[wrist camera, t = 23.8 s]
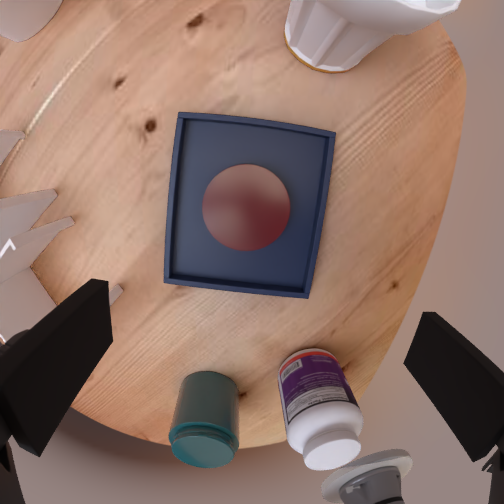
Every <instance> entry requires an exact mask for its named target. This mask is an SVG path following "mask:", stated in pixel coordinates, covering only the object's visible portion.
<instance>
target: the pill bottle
mask: <svg viewBox="0 0 504 504" xmlns="http://www.w3.org/2000/svg"><path fill="white" fill-rule="evenodd" d="M278 386H279V391H280V397H281V403H282V409H283V415H284V421H285V428H286V434H287V440H288V442H289V444H290V446H291V447H292V448H293V449H294V450H296V451H297V452H299V453H302V454H303V458H304V462H305V465H306V466H307V467H309V468H311V469H315V470H328V469H334V468H337V467H340V466H342V465H345V464H346V463H348V462H350V461H351V460H353V459H354V458H355V457H356V456H357V455H358V454H359V452H360V450H361V444H360V442H359V439H358V435H359V434H360V432H361V430H362V427H363V415H362V413H361V411H360V408H359V406H358V404H357V402H356V399H355V397H354V395H353V393H352V391H351V389H350V386H349V384H348V382H347V380H346V378H345V375H344V373H343V371H342V369H341V367H340V365H339V363H338V361H337V359H336V358H335V357H334V355H332V354H331V353H330V352H328V351H326V350H323V349H317V348H312V349H305V350H301V351H299V352H296V353H294V354H293V355H291V356H290V357H288V358H287V359H286V360H285V361H284V362H283V364H282V365H281V367H280V369H279V372H278Z"/></svg>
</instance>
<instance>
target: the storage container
mask: <svg viewBox="0 0 504 504" xmlns="http://www.w3.org/2000/svg"><path fill="white" fill-rule="evenodd" d="M25 138H26V136H25V134H24V132H23V131H16V130H3V129H0V166H1V164H2V163H3V161H4V160H5V158H6V157H7V156H8V154H9V153H10V151H11V150H12V148H13V147H14V146H15V144H16V143H17V142H18V140H19V139H25ZM57 196H58V195H57V194H56V192H55V190H54V189H48V190H43V191H37V192H32V193H27V194H22V195H17V196H12V197H7V198H2V199H0V336H1V338H2V339H3V341H4V342H5V343H6V342H7V341H8V340H9V339H10V338H11V337H12V336H13V335H15V334H17V333H19V332H21V331H24V330H26V329H28V330H30V329H31V328H32V327H33V326H34V325H35V324H37V323H38V322H39V321H40V320H41V319H42V318H44V317H45V316H46V315H47V314H48V313H49V312H51V311H52V310H53V309H54V308H55V307H57V305H56V304H55V302H54V301H53V300H52V298H51V297H50V296H49V294H48V293H47V291H46V290H45V289H44V287H43V286H42V284H41V283H40V281H39V280H38V278H37V277H36V275H35V274H34V272H33V271H32V269H31V268H30V266H31V264H32V263H33V262H34V261H35V260H36V258H37V257H38V256H39V255H40V254H41V252H42V251H43V250H44V249H45V248H46V247H47V245H48V244H49V243H50V242H51V241H52V240H53V239H54V237H55V236H56V235H57V234H58V233H59V232H60V231H61V230H63V229H66V228H68V227H71V226H73V225H74V224H75V223H74V221H73V220H72V218H71V216H69V217H66V218H63V219H60V220H57V221H54V222H51V223H49V224H46V225H43V226H40V227H37V228H35V229H32V230H30V229H31V227H32V226H33V225H34V223H35V222H36V221H37V220H38V219H39V217H40V216H41V215H42V214H43V212H44V211H45V210H46V209H47V208H48V207H49V205H50V204H51V203H52V202H53V201H54V200H55V198H56V197H57ZM122 292H123V290H122V288H121V287H120V286H119V284H117V285H115V286H114V287H113V288H112V289H111V290H110V291H109V303H110V306H111V305H112V304H113V303H114V301H115V300H116V299H117V298H118V297H119V296H120V295H121V294H122Z"/></svg>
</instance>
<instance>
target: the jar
mask: <svg viewBox="0 0 504 504" xmlns="http://www.w3.org/2000/svg"><path fill="white" fill-rule="evenodd" d="M169 441H170V443H171V446H172V452H173V454H174V455H175V456H176V457H177V458H178V459H179V460H181V461H183V462H184V463H187V464H189V465H192V466H196V467H201V468H216V467H221V466H224V465H226V464H228V463H229V462H230V461H231V460H232V459H233V457H234V454H235V452H236V451H237V450H238V447H239V390H238V388H237V386H236V384H235V383H234V382H233V381H232V380H231V379H230V378H228V377H226V376H224V375H222V374H219V373H216V372H209V371H203V372H197V373H193V374H191V375H189V376H188V377H186V378H185V379H184V380H183V382H182V384H181V387H180V391H179V395H178V399H177V403H176V407H175V411H174V415H173V419H172V423H171V427H170V432H169Z"/></svg>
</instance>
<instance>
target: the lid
mask: <svg viewBox="0 0 504 504" xmlns="http://www.w3.org/2000/svg"><path fill="white" fill-rule="evenodd" d="M202 214H203V219H204V222H205V225H206V227H207V229H208V230H209V232H210V233H211V235H212V236H213V237H214V238H215V239H216V240H217V241H218V242H220V243H221V244H223V245H224V246H226V247H228V248H231V249H234V250H239V251H253V250H258V249H261V248H264V247H266V246H268V245H269V244H271V243H273V242H274V241H275V240H276V239H277V238H278V237H279V236H280V235H281V234H282V232H283V231H284V229H285V227H286V225H287V223H288V220H289V216H290V199H289V195H288V192H287V190H286V187H285V186H284V184H283V183H282V181H281V180H280V179H279V178H278V177H277V176H276V175H275V174H274V173H273V172H271V171H270V170H268V169H266V168H264V167H261V166H258V165H253V164H240V165H235V166H232V167H229V168H227V169H225V170H223V171H222V172H220V173H219V174H218V175H216V176H215V177H214V178H213V180H212V181H211V182H210V184H209V185H208V187H207V189H206V191H205V193H204V196H203V201H202Z"/></svg>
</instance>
